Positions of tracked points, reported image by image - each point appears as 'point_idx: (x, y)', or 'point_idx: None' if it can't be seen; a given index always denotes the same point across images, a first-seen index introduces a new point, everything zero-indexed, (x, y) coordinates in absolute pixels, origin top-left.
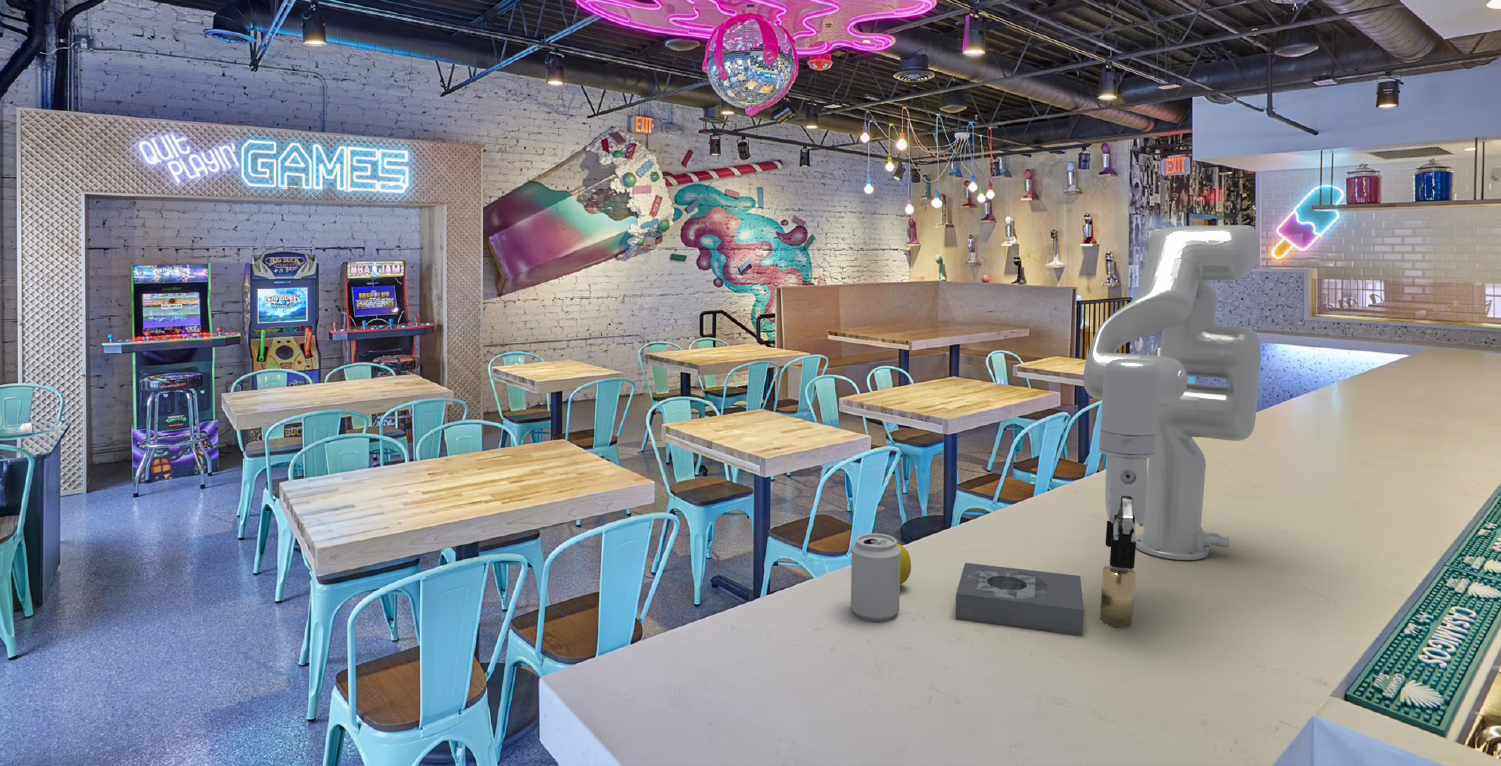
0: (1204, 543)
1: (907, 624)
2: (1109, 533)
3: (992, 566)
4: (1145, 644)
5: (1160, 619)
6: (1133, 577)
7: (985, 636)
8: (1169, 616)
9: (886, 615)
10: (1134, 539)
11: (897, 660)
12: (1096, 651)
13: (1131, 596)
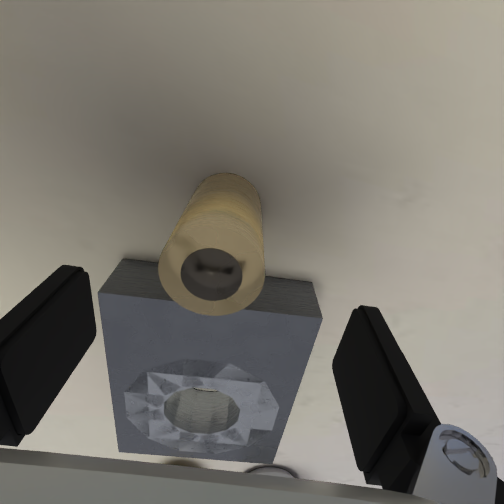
0: None
1: (297, 457)
2: (65, 377)
3: (119, 423)
4: (343, 171)
5: (182, 88)
6: (246, 235)
7: (326, 397)
8: (151, 52)
9: None
10: (490, 459)
11: None
12: (377, 270)
13: (250, 212)
